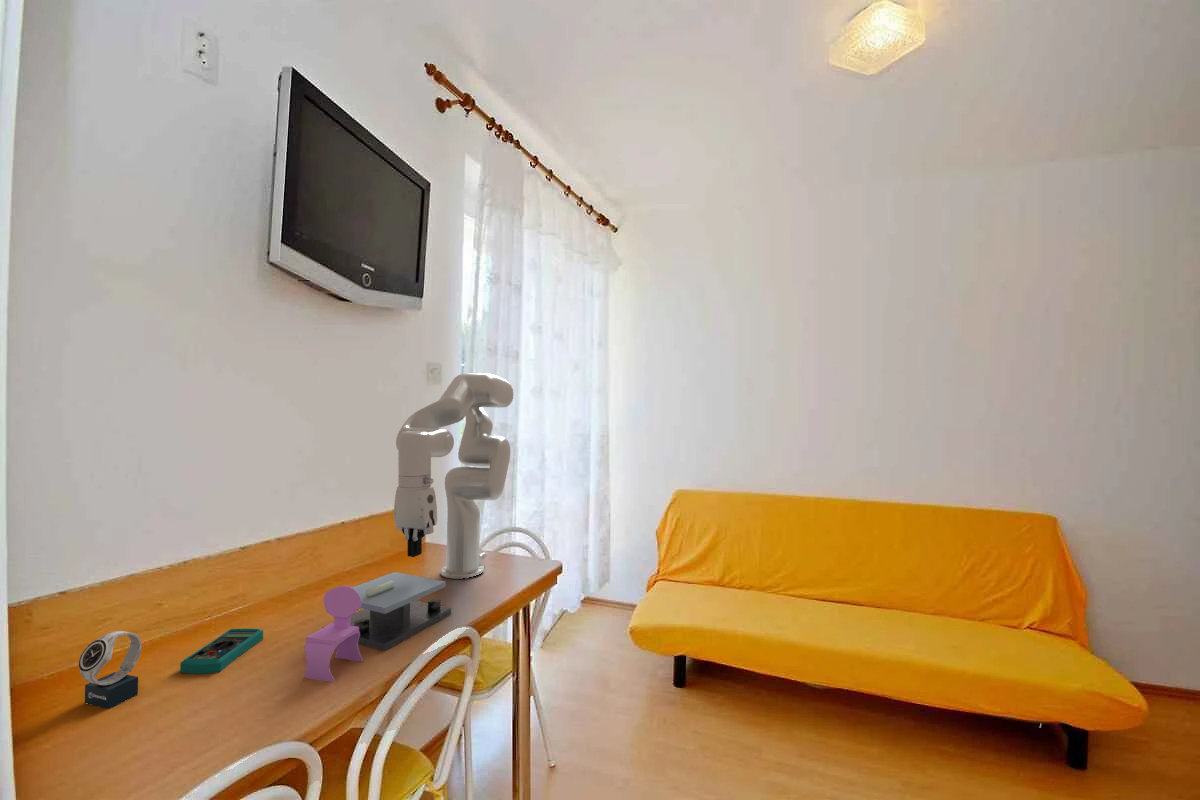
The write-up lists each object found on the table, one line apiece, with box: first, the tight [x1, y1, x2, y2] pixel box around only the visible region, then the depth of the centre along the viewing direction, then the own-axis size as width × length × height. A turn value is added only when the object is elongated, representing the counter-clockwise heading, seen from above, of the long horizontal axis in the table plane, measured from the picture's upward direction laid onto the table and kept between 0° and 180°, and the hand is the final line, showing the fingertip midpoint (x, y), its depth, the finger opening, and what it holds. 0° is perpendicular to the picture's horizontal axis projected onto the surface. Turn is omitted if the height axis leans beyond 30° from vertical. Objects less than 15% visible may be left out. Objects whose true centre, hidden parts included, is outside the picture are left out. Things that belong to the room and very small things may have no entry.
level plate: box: [351, 571, 447, 614], centre depth 122 cm, size 19×16×3 cm
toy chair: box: [304, 585, 365, 683], centre depth 101 cm, size 8×9×15 cm
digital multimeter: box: [179, 628, 264, 675], centre depth 105 cm, size 7×15×3 cm, turn 3°
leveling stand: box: [321, 598, 452, 652], centre depth 121 cm, size 21×18×6 cm
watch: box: [78, 630, 143, 710], centre depth 89 cm, size 6×8×11 cm
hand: (414, 555), depth 130 cm, fingers closed
